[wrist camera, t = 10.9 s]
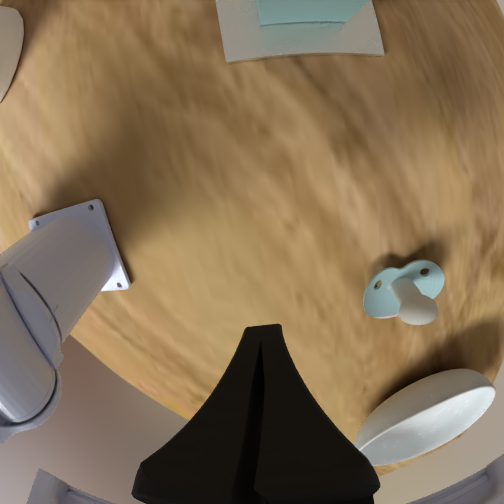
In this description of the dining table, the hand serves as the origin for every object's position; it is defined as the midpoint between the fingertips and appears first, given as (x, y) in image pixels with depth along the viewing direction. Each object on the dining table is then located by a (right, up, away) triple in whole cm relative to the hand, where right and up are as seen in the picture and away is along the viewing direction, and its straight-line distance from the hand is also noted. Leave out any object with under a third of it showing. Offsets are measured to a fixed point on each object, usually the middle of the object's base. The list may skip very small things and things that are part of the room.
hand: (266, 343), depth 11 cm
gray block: (+2, +20, +1) cm, 20 cm away
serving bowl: (+23, -17, +19) cm, 34 cm away
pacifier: (+12, +1, +11) cm, 16 cm away
